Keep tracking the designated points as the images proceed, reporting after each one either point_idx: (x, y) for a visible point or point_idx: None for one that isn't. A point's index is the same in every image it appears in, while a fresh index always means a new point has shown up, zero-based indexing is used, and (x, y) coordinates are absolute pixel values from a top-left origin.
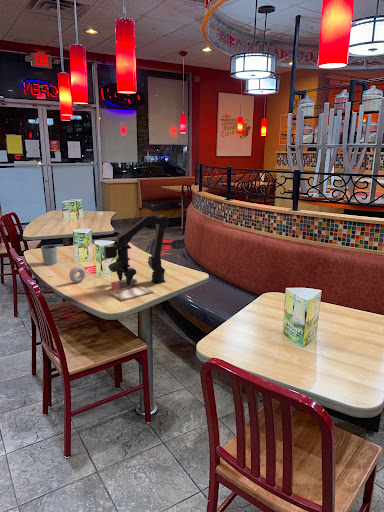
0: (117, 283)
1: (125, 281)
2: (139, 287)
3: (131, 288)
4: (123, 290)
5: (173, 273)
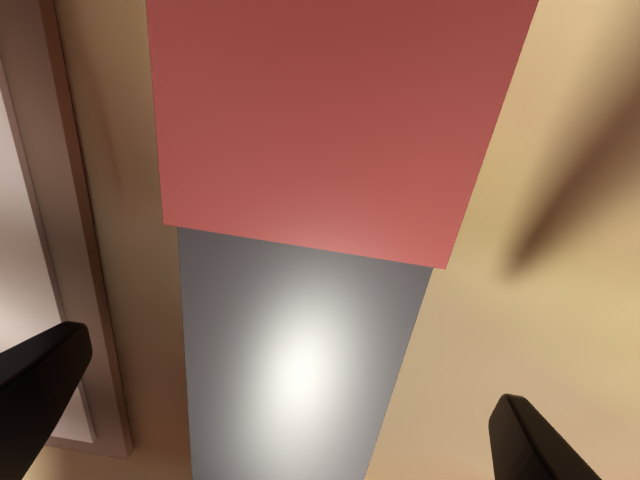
0: (164, 136)
1: (203, 409)
2: None
3: (54, 303)
4: (2, 110)
5: None
